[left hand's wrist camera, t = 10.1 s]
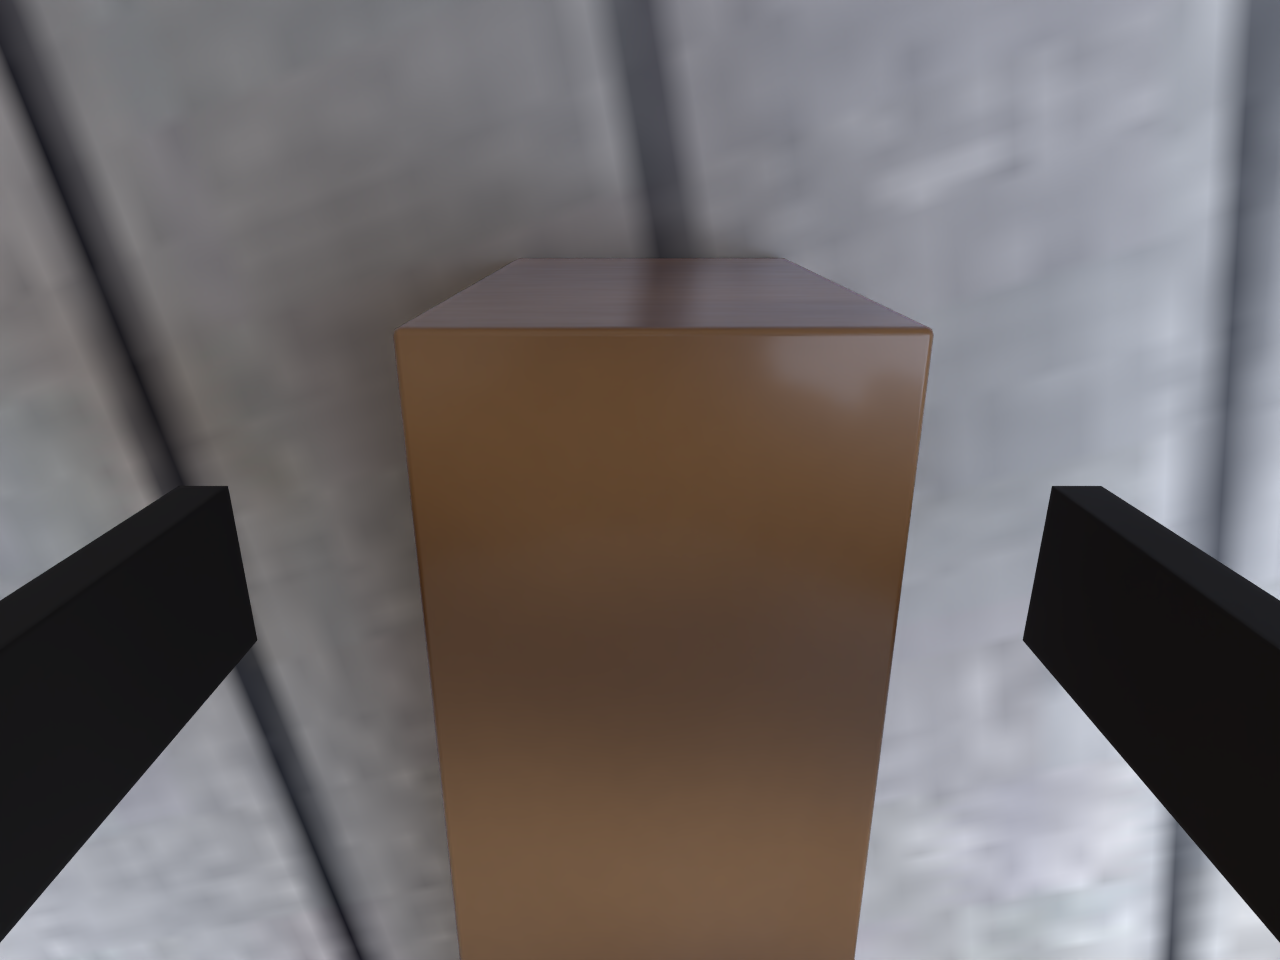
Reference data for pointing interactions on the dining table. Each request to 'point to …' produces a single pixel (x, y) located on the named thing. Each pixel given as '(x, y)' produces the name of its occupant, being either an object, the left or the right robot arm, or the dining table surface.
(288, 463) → the dining table surface
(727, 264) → the beam
